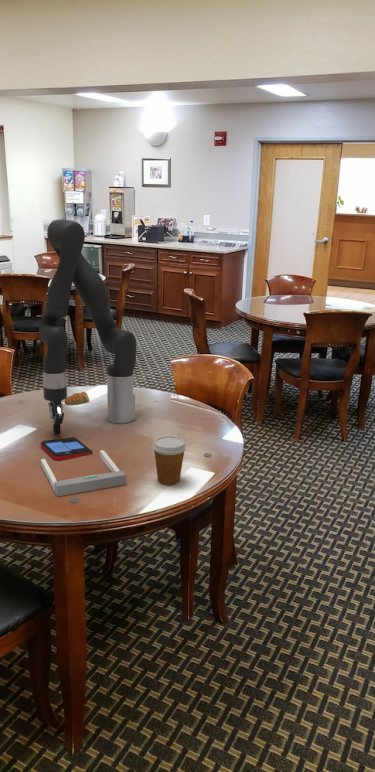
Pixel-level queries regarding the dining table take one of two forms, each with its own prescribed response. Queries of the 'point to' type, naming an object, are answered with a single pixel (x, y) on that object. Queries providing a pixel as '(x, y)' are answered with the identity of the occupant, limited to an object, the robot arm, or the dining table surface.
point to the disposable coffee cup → (169, 458)
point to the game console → (65, 448)
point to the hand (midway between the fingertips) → (56, 433)
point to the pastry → (77, 399)
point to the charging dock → (86, 479)
